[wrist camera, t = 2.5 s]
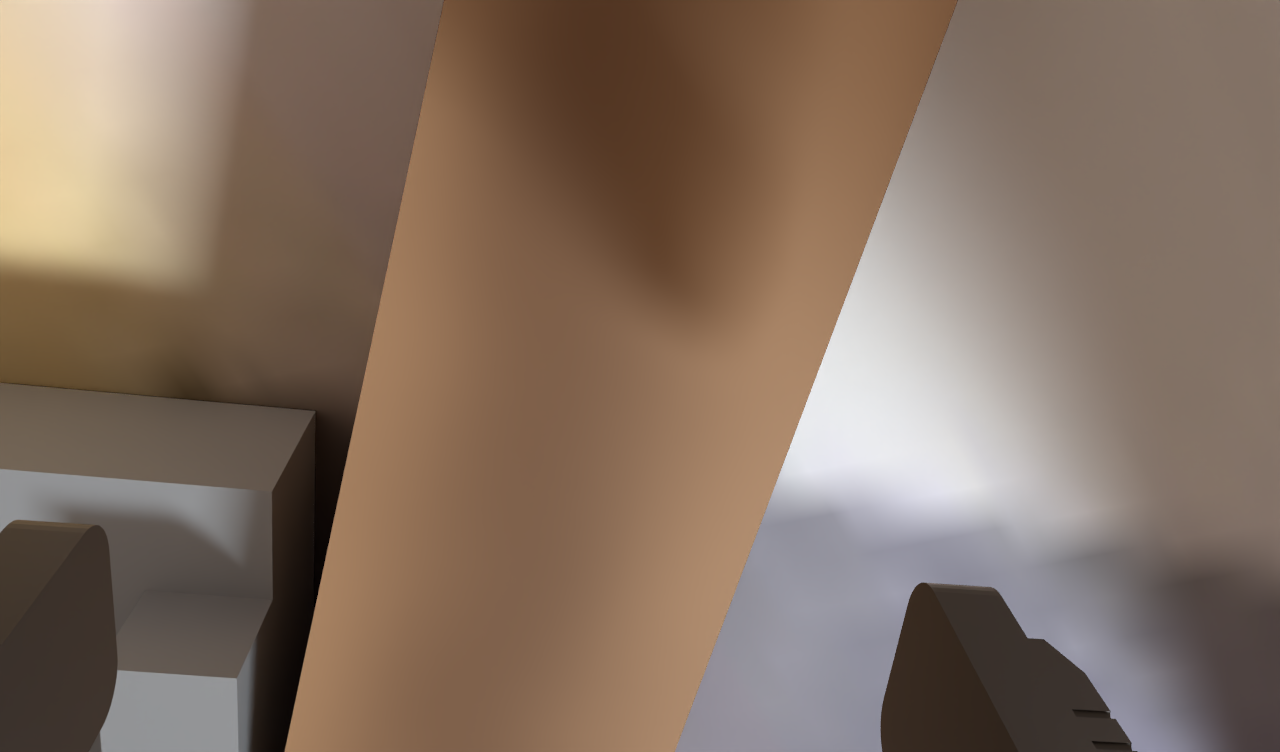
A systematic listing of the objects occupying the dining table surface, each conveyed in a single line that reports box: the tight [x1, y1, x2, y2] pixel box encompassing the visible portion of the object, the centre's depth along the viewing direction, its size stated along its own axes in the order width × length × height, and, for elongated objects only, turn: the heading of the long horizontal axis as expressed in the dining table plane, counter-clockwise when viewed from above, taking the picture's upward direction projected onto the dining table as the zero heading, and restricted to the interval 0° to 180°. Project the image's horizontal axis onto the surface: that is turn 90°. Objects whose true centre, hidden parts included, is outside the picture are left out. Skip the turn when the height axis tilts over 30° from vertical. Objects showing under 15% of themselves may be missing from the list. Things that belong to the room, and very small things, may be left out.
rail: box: [285, 0, 958, 752], centre depth 17 cm, size 6×20×6 cm, turn 164°
